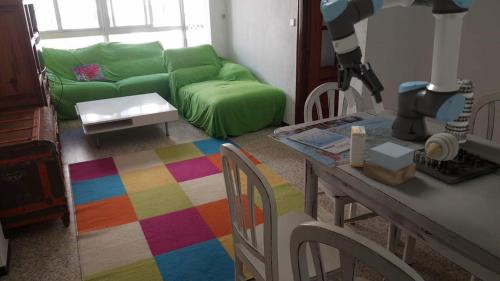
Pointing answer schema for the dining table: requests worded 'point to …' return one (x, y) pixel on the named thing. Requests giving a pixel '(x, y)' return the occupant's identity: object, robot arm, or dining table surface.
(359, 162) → the supplement box
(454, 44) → the robot arm
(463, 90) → the decorative candle
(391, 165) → the tower top block
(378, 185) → the dining table surface
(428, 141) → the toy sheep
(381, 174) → the tower base block
